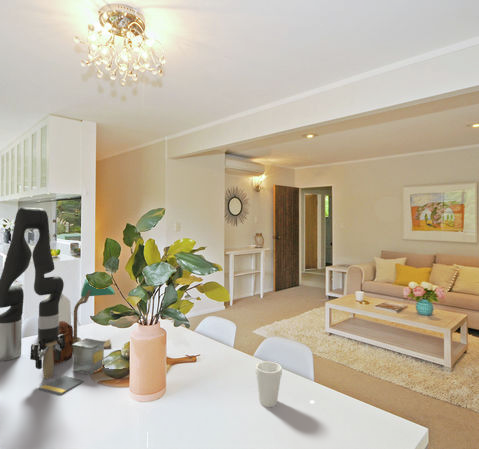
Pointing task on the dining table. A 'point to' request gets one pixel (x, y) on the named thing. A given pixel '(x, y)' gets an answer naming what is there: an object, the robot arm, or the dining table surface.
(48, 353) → the handle
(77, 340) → the banker's lamp
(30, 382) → the dining table surface
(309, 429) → the dining table surface
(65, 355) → the wooden figurine
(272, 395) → the foam cup
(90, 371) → the tin
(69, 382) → the mat
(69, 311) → the milk
